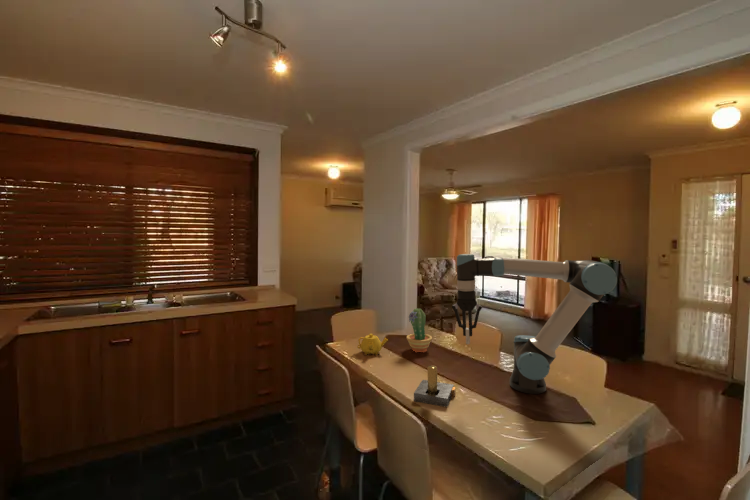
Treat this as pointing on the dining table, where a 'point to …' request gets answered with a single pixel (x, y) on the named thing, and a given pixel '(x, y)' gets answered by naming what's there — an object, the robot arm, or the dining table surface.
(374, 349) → the teapot
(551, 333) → the robot arm
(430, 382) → the cylinder
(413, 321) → the potted cactus
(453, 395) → the lock pin
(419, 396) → the block
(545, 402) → the dining table surface
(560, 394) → the dining table surface
